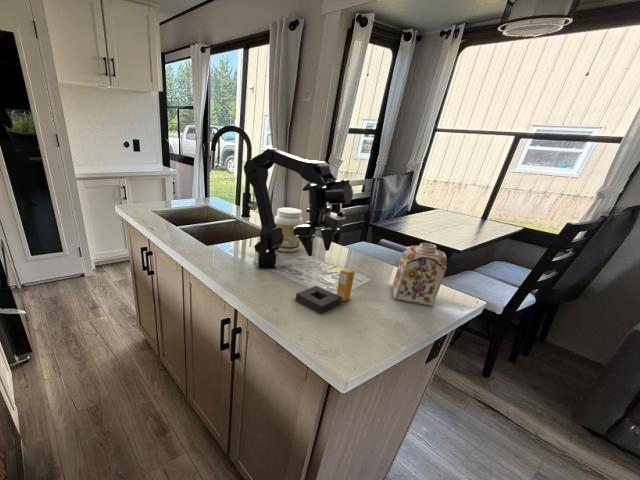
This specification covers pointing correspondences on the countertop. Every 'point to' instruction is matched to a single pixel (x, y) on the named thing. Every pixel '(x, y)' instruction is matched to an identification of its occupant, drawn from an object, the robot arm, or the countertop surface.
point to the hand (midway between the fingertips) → (318, 253)
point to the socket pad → (318, 299)
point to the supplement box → (345, 284)
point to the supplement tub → (289, 227)
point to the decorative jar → (419, 274)
